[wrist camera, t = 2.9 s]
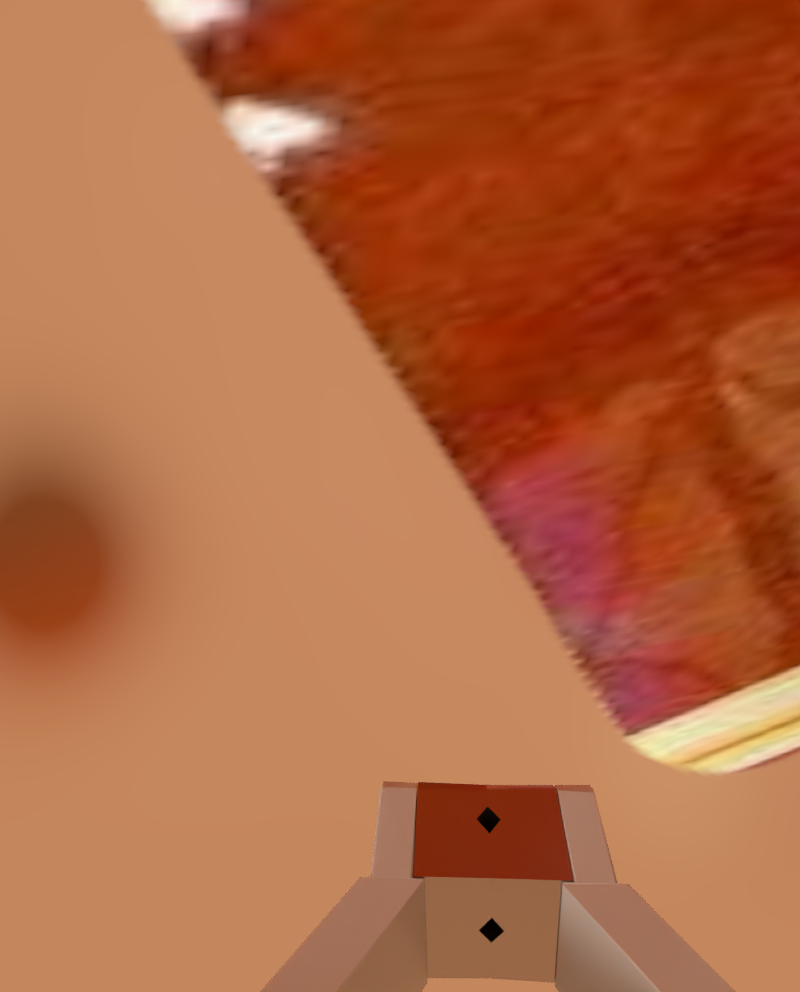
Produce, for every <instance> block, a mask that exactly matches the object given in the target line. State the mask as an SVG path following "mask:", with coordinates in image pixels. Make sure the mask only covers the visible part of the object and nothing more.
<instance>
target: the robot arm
mask: <svg viewBox="0 0 800 992" xmlns="http://www.w3.org/2000/svg"><path fill="white" fill-rule="evenodd" d="M427 978H493V979H508V980H525V981H539V982H555V986H556V988H557V990H558V991H559V992H735V991H734V990H733V989H732V988H731V987H730V986H729V984H727V983H726V981H724V979H723V978H722V977H721V976H719V974H718V973H717V972H715V970H714V969H712V967H711V966H710V965H709V964H707V962H706V961H705V960H704V959H703V958H702V957H701V956H700V955H699V954H698V953H697V952H696V951H695V950H694V949H693V948H692V947H691V946H690V945H688V944H687V942H685V940H684V939H683V938H682V937H681V936H680V935H679V934H678V933H677V932H676V931H675V930H674V929H673V928H672V927H671V926H670V925H669V924H668V923H667V922H666V921H665V920H664V919H663V918H662V917H661V916H660V915H659V914H658V913H657V912H656V911H654V909H653V908H652V907H651V906H650V905H649V904H648V903H647V902H646V901H645V900H644V899H643V898H642V897H641V896H640V895H639V894H638V893H637V892H636V891H635V890H634V889H633V888H632V887H631V886H630V885H629V884H618V883H617V880H616V876H615V872H614V868H613V864H612V860H611V856H610V852H609V848H608V844H607V840H606V836H605V832H604V829H603V824H602V820H601V816H600V812H599V808H598V804H597V800H596V796H595V793H594V790H593V789H592V787H591V786H590V785H555V786H553V785H473V784H449V783H426V782H419V783H405V782H386V781H384V782H383V784H382V787H381V791H380V799H379V808H378V816H377V825H376V834H375V843H374V852H373V861H372V871H371V877H360V878H359V879H358V880H357V881H356V882H355V884H354V885H353V886H352V887H351V888H350V889H349V891H348V892H347V893H346V894H345V895H344V896H343V897H342V899H341V900H340V901H339V902H338V903H337V904H336V906H335V907H334V908H333V909H332V910H331V911H330V912H329V913H328V915H327V916H326V917H325V918H324V919H323V920H322V921H321V923H320V924H319V925H318V926H317V927H316V928H315V929H314V931H313V932H312V933H311V934H310V935H309V936H308V937H307V939H306V940H305V941H304V942H303V943H302V944H301V945H300V947H299V948H298V949H297V950H296V951H295V952H294V953H293V955H292V956H291V957H290V958H289V959H288V960H287V961H286V963H285V964H284V965H283V966H282V967H281V969H280V970H279V971H278V972H277V973H276V974H275V976H273V978H272V979H271V980H270V981H269V982H268V983H267V984H266V986H265V987H264V988H263V989H262V990H261V991H260V992H422V991H423V989H424V987H425V985H426V984H427Z"/></svg>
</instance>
